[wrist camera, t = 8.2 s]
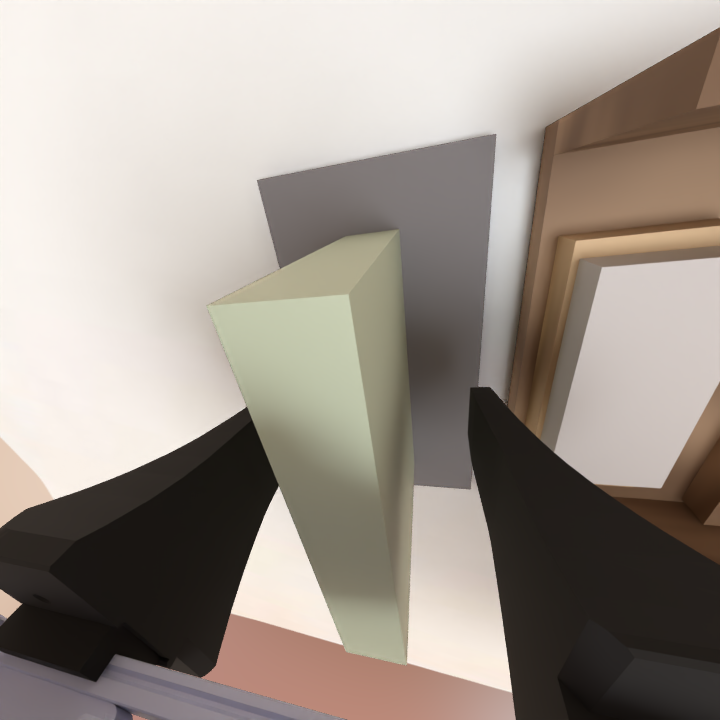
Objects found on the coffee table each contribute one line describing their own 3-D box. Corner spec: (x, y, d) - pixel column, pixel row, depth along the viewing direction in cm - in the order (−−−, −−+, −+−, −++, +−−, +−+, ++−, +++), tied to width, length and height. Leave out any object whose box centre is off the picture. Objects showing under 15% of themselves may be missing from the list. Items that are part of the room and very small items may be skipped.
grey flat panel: (469, 480, 16) (470, 489, 16) (337, 470, 18) (334, 478, 18) (492, 137, 9) (496, 133, 8) (264, 180, 11) (257, 180, 10)
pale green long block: (414, 463, 16) (406, 665, 9) (378, 461, 16) (346, 651, 10) (399, 229, 10) (348, 293, 3) (345, 236, 11) (206, 306, 4)
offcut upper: (638, 461, 11) (660, 488, 10) (536, 456, 12) (546, 480, 11) (740, 243, 7) (791, 251, 6) (579, 258, 8) (602, 267, 7)
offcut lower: (616, 464, 13) (633, 487, 12) (518, 459, 14) (526, 480, 13) (718, 218, 8) (760, 221, 7) (558, 235, 9) (575, 240, 8)
